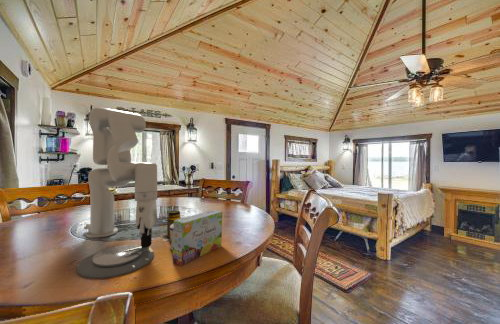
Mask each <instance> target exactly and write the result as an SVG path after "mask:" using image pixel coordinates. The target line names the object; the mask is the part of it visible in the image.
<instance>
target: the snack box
mask: <svg viewBox="0 0 500 324" xmlns="http://www.w3.org/2000/svg"><path fill="white" fill-rule="evenodd" d="M222 233H223V211H222V210H221V211H220V210H216V209H211V210H209V211H205V212H201V213H197V214H194V215H193V214H192V215H190V216H187V217H186V216H185V217H183V218H182V217H181V219H178V220H174V227H173V250H172V263H175V264H177V265H179V266H184V265H186V264H188V263H190V262H191V261H192V262H193V261H194V260H196V259H198V258H200V257H202V256H204V255H207V254H208V253H210V252H213V251H214V250H216V249H218V248H221V247H222V241H223V240H222V237H223V234H222Z"/></svg>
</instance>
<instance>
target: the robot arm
mask: <svg viewBox="0 0 500 324" xmlns="http://www.w3.org/2000/svg"><path fill="white" fill-rule="evenodd" d="M88 120H89V121H88V122H89V125H90V126H89V127H90V128H91V132H92V136H93V137H92V139H93V140H92V160H93V163H94V164H95V165H98V166H107V167H100V168H99V167H98V168H94V169H91V170H90V172H88V175H87V179H88V180H87V181H88V184H89V191H90V193H89V194H90V210H89V211H90V214H89V215H90V222H89V223H87V224H85V226H84V227H83V229H84V230H87V232H86V233H85V236H86V238H91V239H95V238H96V239H97V238H99V239H100V238H104V237H109V236H113V235H115V234H117V233H118V231H119V230H118V228H117V227H115V195H114V193H113V192H112V191H111V190H110V189H109V188H116V187H117V188H118V187H125V186H127V185H129V183H130V182H132V183H133V182H134V202H136V208H135V228H136V229H137V230H139V235H140V246H141V247H147V246H149V247H150V246H151V245H152V234H153V233H152V232H153V231H152V229H153V227H154V226H155V225H156V224H157V223H158V209H157V206H158V205H157V200H158V165H157V163H155V162H145V161H138V162H136V161H132V154H131V151H130V150H131V149H133V148H135V147H136V146H137V144H138V142H139V139H138V136H137V133H138V134H141V133H143V132H145V130H146V126H147V123H146V121H145V118H144V117H143V116H142V115H141V114H139V113H135V112H134V113H133V112H129V111H124V110H118V109H113V108H112V109H111V108H107V107H95V108H92V109H91V110H90V112H89V117H88Z"/></svg>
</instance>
